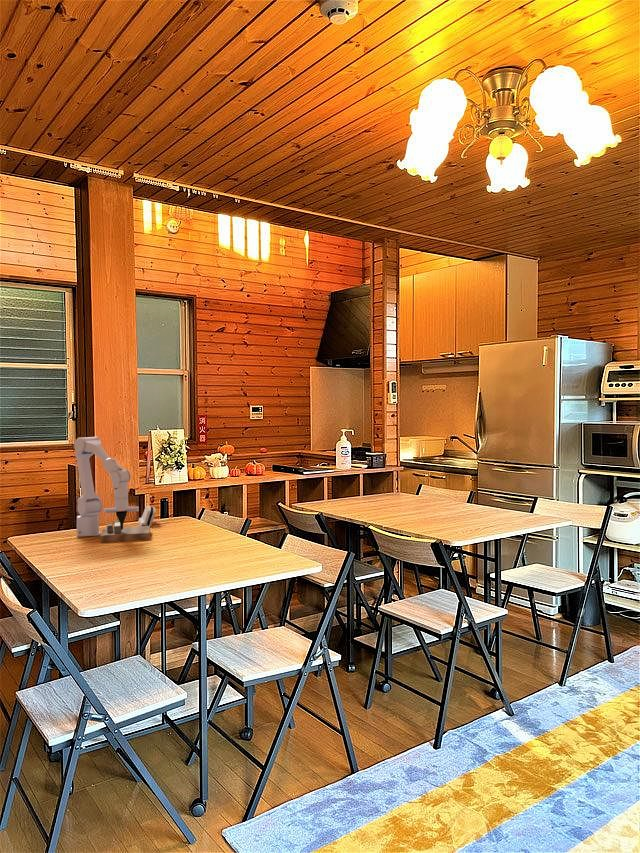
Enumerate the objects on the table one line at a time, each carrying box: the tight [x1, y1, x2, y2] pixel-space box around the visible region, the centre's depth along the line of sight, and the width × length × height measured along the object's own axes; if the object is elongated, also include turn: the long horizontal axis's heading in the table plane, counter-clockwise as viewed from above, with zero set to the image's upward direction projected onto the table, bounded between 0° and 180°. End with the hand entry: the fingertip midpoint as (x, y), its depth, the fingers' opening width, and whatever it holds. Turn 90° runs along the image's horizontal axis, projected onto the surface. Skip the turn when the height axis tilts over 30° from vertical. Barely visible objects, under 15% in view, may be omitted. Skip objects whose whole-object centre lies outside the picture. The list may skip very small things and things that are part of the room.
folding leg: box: [113, 520, 121, 533], centre depth 290 cm, size 14×3×3 cm, turn 17°
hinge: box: [137, 505, 157, 526], centre depth 323 cm, size 17×5×10 cm, turn 20°
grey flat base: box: [99, 523, 151, 543], centre depth 290 cm, size 20×18×6 cm
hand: (122, 528), depth 286 cm, fingers closed
